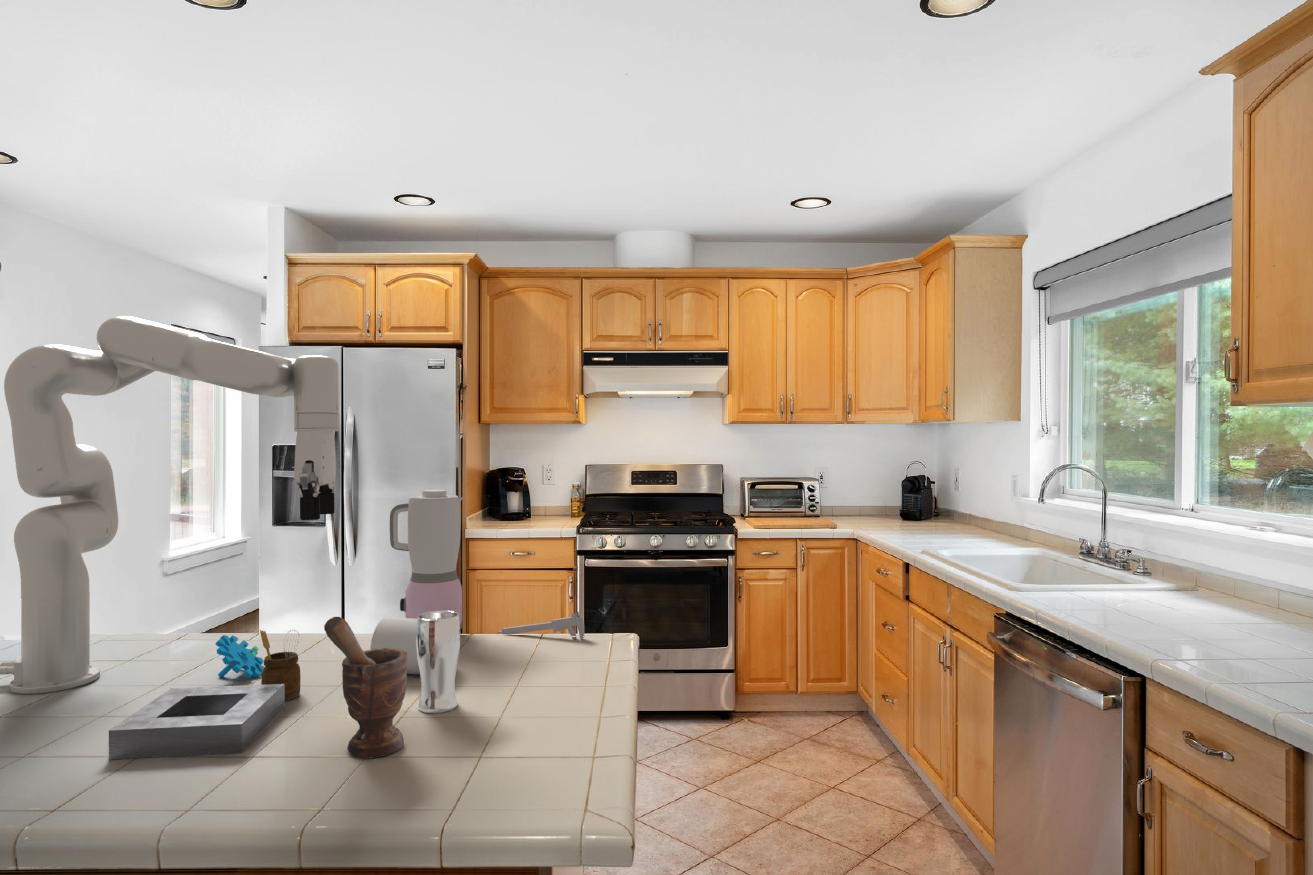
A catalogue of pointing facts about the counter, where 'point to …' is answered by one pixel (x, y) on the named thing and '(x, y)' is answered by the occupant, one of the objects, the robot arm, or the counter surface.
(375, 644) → the toilet paper
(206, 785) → the counter surface
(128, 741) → the hollow square block
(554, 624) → the caliper
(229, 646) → the gear
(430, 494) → the blender
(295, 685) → the utensil holder
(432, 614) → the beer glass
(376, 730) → the mortar and pestle
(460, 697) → the counter surface
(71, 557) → the robot arm
